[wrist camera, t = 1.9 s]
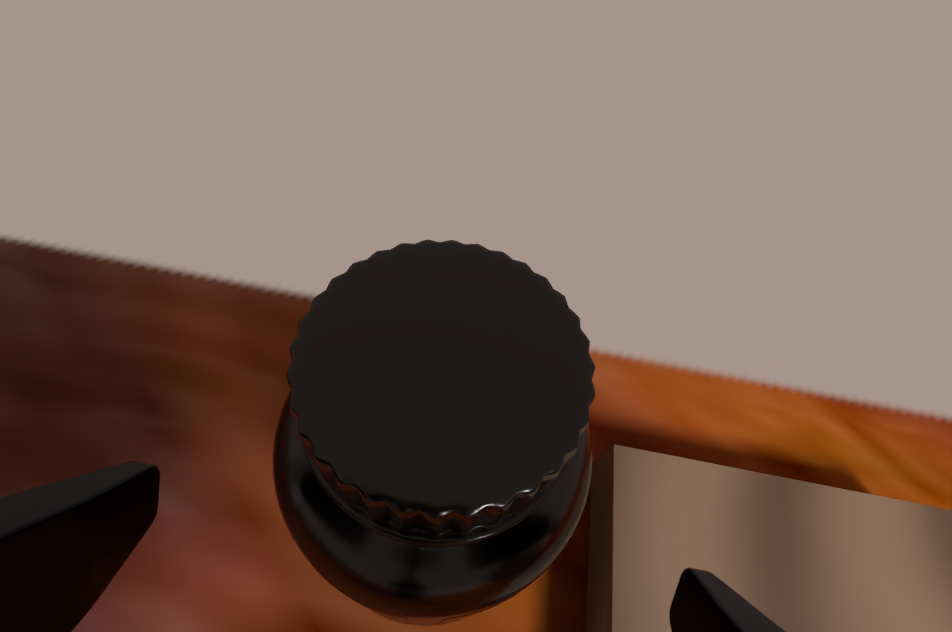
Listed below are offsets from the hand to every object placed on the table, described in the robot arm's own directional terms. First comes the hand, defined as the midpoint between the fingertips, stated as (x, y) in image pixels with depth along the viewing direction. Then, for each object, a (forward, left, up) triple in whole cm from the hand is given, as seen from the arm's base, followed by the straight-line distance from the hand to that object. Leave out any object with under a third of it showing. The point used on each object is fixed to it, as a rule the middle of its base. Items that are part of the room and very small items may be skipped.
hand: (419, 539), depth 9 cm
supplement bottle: (+2, -1, -10) cm, 10 cm away
